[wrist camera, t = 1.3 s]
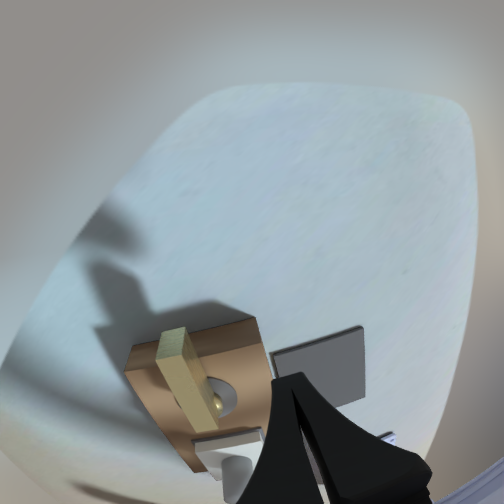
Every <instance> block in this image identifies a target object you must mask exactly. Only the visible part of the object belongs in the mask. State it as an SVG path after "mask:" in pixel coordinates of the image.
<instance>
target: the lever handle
mask: <svg viewBox="0 0 504 504" xmlns="http://www.w3.org/2000/svg"><path fill="white" fill-rule="evenodd" d="M155 361H156V363H157V365H158V367H159V368H160V370H161V372H162V374H163V376H164V378H165V380H166V382H167V383H168V385H169V387H170V389H171V391H172V392H173V394H174V396H175V398H176V400H177V401H178V403H179V405H180V406H181V408H182V410H183V412H184V413H185V415H186V417H187V418H188V420H189V422H190V423H191V425H192V426H193V428H194V430H195V431H196V433H198V432H204V431H210V430H216V429H219V425H218V417H219V416H220V415H221V414H222V412H223V404H222V398H221V397H220V396H219V395H218V394H216V393H214V392H213V389H212V387H211V385H210V383H209V381H208V378H207V376H206V374H205V372H204V369H203V367H202V365H201V363H200V360H199V358H198V356H197V353H196V351H195V349H194V346H193V344H192V342H191V339H190V337H189V334H188V332H187V329H186V327H181V328H177V329H172V330H168V331H163V332H162V334H161V338H160V342H159V346H158V350H157V355H156V359H155Z"/></svg>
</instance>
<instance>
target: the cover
mask: <svg viewBox="0 0 504 504" xmlns="http://www.w3.org/2000/svg"><path fill="white" fill-rule="evenodd" d="M263 444H264V442H263V439H262V437H261V434H260V432H259V431H257V432H252V433H248V434H243V435H238V436H233V437H228V438H222V439H217V440H211V441H205V442H198V443H195V453H196V455H197V456H198V458H199V459H200V460H201V462H202V463H203V464H204V466H205V467H206V468H207V470H208V471H209V472H210V474H211V475H212V476H213V477H214V479H215V480H216V481H219V480H222V482H223V495H224V501H225V502H226V503H229V504H236V502H237V501H238V499H239V498H240V496H241V495H242V493H243V491H244V489H245V487H246V486H247V484H248V482H249V480H250V478H251V476H252V474H253V471H254V469H255V467H256V464H257V462H258V459H259V456H260V454H261V451H262V447H263Z"/></svg>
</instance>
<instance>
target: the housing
mask: <svg viewBox="0 0 504 504" xmlns="http://www.w3.org/2000/svg"><path fill="white" fill-rule="evenodd" d="M189 337H190V339H191V342H192V344H193V346H194V349H195V351H196V353H197V356H198V358H199V360H200V363H201V365H202V367H203V369H204V372H205V374H206V376H207V378H208V381H209V383H210V385H211V387H212V389H213V392H214V393H216V394H218V395H219V396H220V397H221V398H222V404H223V412H222V414H221V415H220V416H219V417H218V425H219V429H216V430H210V431H204V432H198V433H196V431H195V430H194V428H193V426H192V425H191V423H190V422H189V420H188V418H187V417H186V415H185V413H184V412H183V410H182V408H181V406H180V405H179V403H178V401H177V400H176V398H175V396H174V394H173V392H172V391H171V389H170V387H169V385H168V383H167V382H166V380H165V378H164V376H163V374H162V372H161V370H160V368H159V367H158V365H157V363H156V361H155V359H156V355H157V350H158V346H159V342H160V340H158V341H153V342H149V343H144V344H139V345H134V346H132V349H131V352H130V355H129V358H128V361H127V364H126V367H125V370H124V373H125V375H126V377H127V378H128V380H129V382H130V383H131V385H132V387H133V388H134V390H135V392H136V393H137V395H138V396H139V398H140V399H141V401H142V403H143V404H144V406H145V407H146V409H147V410H148V412H149V413H150V415H151V416H152V418H153V419H154V421H155V422H156V423H157V425H158V426H159V428H160V429H161V431H162V432H163V433H164V435H165V436H166V437H167V439H168V440H169V442H170V443H171V444H172V446H173V447H174V448H175V450H176V451H177V452H178V453H179V455H180V456H181V457H182V459H183V460H184V461H185V462H186V464H187V465H188V466H189V467H190V469H191V470H192V471H193V472H194V473H198V472H206V471H208V470H207V468H206V467H205V466H204V464H203V463H202V462H201V460H200V459H199V458H198V456H197V455H196V453H195V443H198V442H205V441H211V440H217V439H222V438H228V437H233V436H238V435H243V434H248V433H252V432H257V431H259V432H260V434H261V437H262V439H263V442H264V441H265V437H266V433H267V428H268V423H269V417H270V410H271V398H272V390H271V381H272V380H273V378H272V374H271V371H270V367H269V364H268V360H267V357H266V353H265V350H264V346H263V342H262V339H261V335H260V332H259V328H258V325H257V321H256V317H254V318H250V319H247V320H243V321H239V322H235V323H231V324H227V325H223V326H219V327H215V328H211V329H207V330H202V331H198V332H194V333H190V334H189Z"/></svg>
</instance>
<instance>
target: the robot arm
mask: <svg viewBox="0 0 504 504" xmlns="http://www.w3.org/2000/svg"><path fill="white" fill-rule="evenodd" d="M271 390H272V398H271V410H270V417H269V423H268V428H267V433H266V437H265V441H264V444H263V447H262V451H261V454H260V456H259V459H258V462H257V464H256V467H255V469H254V471H253V474H252V476H251V478H250V480H249V482H248V484H247V486H246V487H245V489H244V491H243V493H242V495H241V496H240V498H239V499H238V501H237V502H236V504H324V502H323V499H322V497H321V494H320V491H319V488H318V485H317V482H316V479H315V476H314V474H313V471H312V468H311V465H310V462H309V459H308V456H307V453H306V450H305V447H304V443H303V437H302V432H301V428H302V431H303V433H304V435H305V438H306V440H307V442H308V444H309V447H310V449H311V451H312V453H313V456H314V458H315V460H316V462H317V465H318V467H319V470H320V473H321V476H322V479H323V482H324V485H325V489H326V492H327V495H328V498H329V501H330V504H504V457H502V458H501V459H500V460H499V461H497V462H496V463H495V464H493V465H492V466H491V467H489V468H488V469H487V470H485V471H484V472H482V473H481V474H480V475H478V476H477V477H476V478H474V479H472V480H471V481H469V482H468V483H466V484H465V485H463V486H462V487H460V488H459V489H457V490H456V491H454V492H452V493H450V494H449V495H447V496H445V497H444V498H442V499H440V500H439V501H437V502H434V501H433V500H432V499H430V498H429V495H430V492H429V490H428V489H427V487H426V486H427V484H428V483H429V481H430V479H431V476H432V471H431V469H430V467H429V466H428V465H427V464H426V462H425V461H424V460H423V459H422V458H421V457H420V456H419V455H418V454H416V453H413V452H410V451H407V450H404V449H402V448H399V447H397V446H394V445H395V440H396V434H395V433H392V434H390V435H388V436H385V437H383V438H381V439H380V438H378V437H376V436H374V435H372V434H370V433H368V432H367V431H365V430H364V429H362V428H360V427H359V426H357V425H356V424H354V423H353V422H352V421H350V420H349V419H348V418H346V417H345V416H344V415H343V414H341V413H340V412H339V411H338V410H337V409H335V408H334V407H333V406H332V405H331V404H330V403H329V402H328V401H327V400H326V399H325V398H324V397H323V396H322V395H321V394H320V393H319V392H318V391H317V390H316V388H315V387H314V386H313V385H312V384H311V382H310V381H309V380H308V378H307V377H306V375H305V374H304V373H303V372H297V373H294V374H290V375H287V376H283V377H280V378H276V379H273V380H272V381H271ZM300 426H301V427H300Z"/></svg>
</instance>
